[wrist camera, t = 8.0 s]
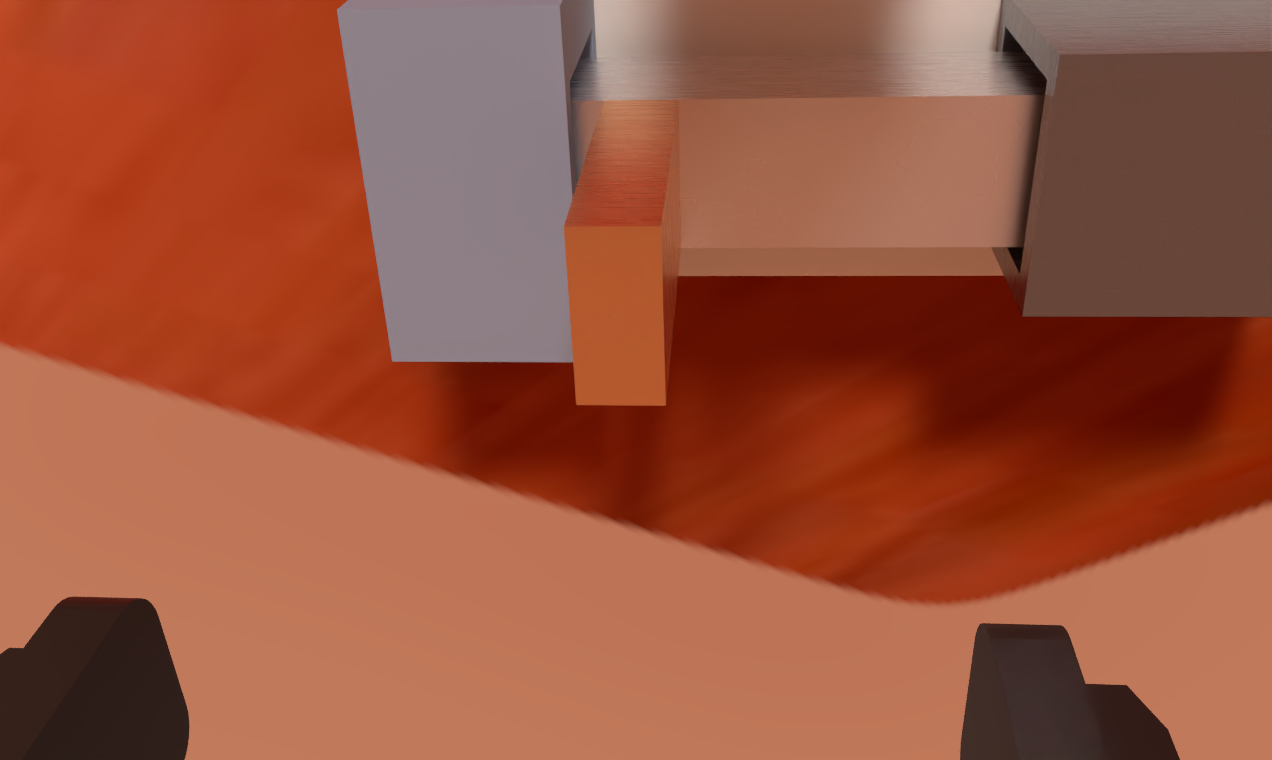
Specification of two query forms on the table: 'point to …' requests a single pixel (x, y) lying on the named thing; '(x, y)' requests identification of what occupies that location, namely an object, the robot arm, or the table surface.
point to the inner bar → (776, 176)
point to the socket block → (468, 169)
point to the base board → (806, 24)
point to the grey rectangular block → (1147, 159)
